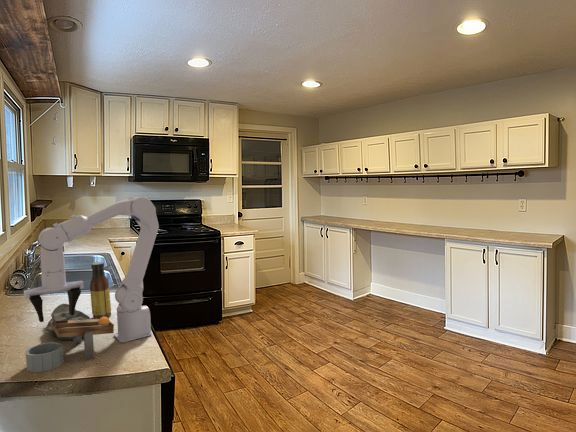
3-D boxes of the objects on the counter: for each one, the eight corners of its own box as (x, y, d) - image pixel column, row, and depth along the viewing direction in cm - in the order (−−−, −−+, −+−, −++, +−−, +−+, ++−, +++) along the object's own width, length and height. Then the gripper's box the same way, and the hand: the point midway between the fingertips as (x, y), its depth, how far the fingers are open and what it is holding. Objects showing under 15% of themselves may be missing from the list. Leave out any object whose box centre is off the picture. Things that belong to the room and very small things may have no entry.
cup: (59, 355, 112) (58, 339, 111) (65, 365, 105) (64, 349, 105) (25, 364, 106) (24, 347, 106) (29, 375, 100) (28, 358, 100)
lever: (101, 321, 123) (102, 314, 123) (113, 333, 113) (114, 325, 113) (49, 324, 114) (50, 316, 114) (58, 338, 104) (59, 329, 104)
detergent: (97, 336, 125) (85, 313, 146) (94, 314, 124) (82, 294, 145) (49, 349, 118) (44, 323, 138) (45, 327, 117) (40, 304, 137)
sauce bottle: (106, 312, 147) (103, 260, 145) (114, 316, 143) (112, 262, 142) (88, 317, 142) (85, 263, 140) (96, 321, 138) (93, 265, 136)
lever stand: (80, 341, 121) (79, 317, 120) (94, 359, 109) (92, 332, 108) (73, 343, 120) (71, 318, 119) (86, 361, 108) (84, 334, 107)
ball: (107, 325, 117) (108, 315, 117) (110, 328, 114) (111, 318, 115) (96, 326, 115) (98, 315, 115) (99, 329, 113) (100, 318, 113)
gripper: (77, 264, 119) (80, 308, 120) (20, 272, 109) (23, 320, 110) (84, 268, 114) (87, 313, 115) (25, 277, 104) (29, 327, 105)
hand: (56, 317), depth 113 cm, fingers open, 7 cm apart
